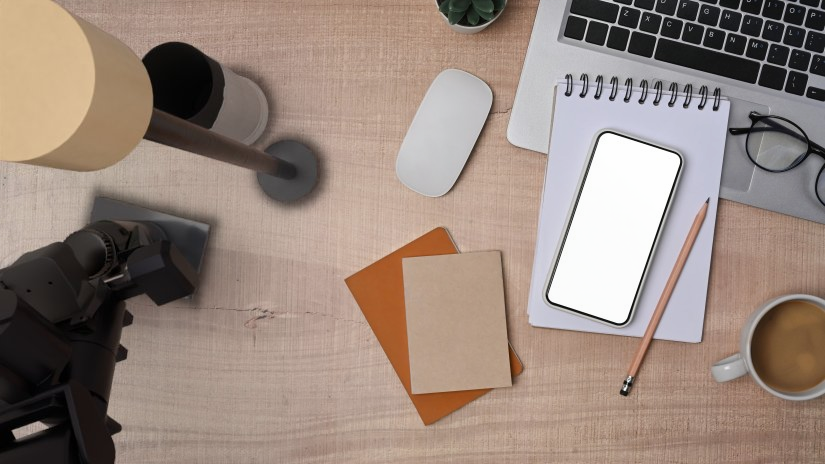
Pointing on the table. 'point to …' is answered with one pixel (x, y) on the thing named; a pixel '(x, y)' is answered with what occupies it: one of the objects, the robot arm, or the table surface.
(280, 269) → the table surface
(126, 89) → the desk lamp
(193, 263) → the slate tile
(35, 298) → the robot arm
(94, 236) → the supplement bottle
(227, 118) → the glass holder
